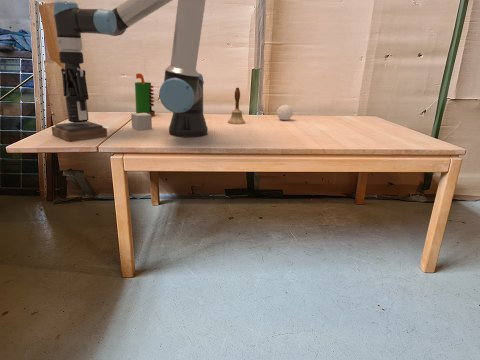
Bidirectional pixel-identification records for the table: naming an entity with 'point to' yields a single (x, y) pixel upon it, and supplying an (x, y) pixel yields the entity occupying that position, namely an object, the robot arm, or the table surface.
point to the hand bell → (236, 111)
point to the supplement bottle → (73, 105)
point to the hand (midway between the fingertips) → (78, 118)
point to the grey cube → (141, 121)
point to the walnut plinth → (79, 131)
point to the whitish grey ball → (285, 112)
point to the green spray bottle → (144, 96)
